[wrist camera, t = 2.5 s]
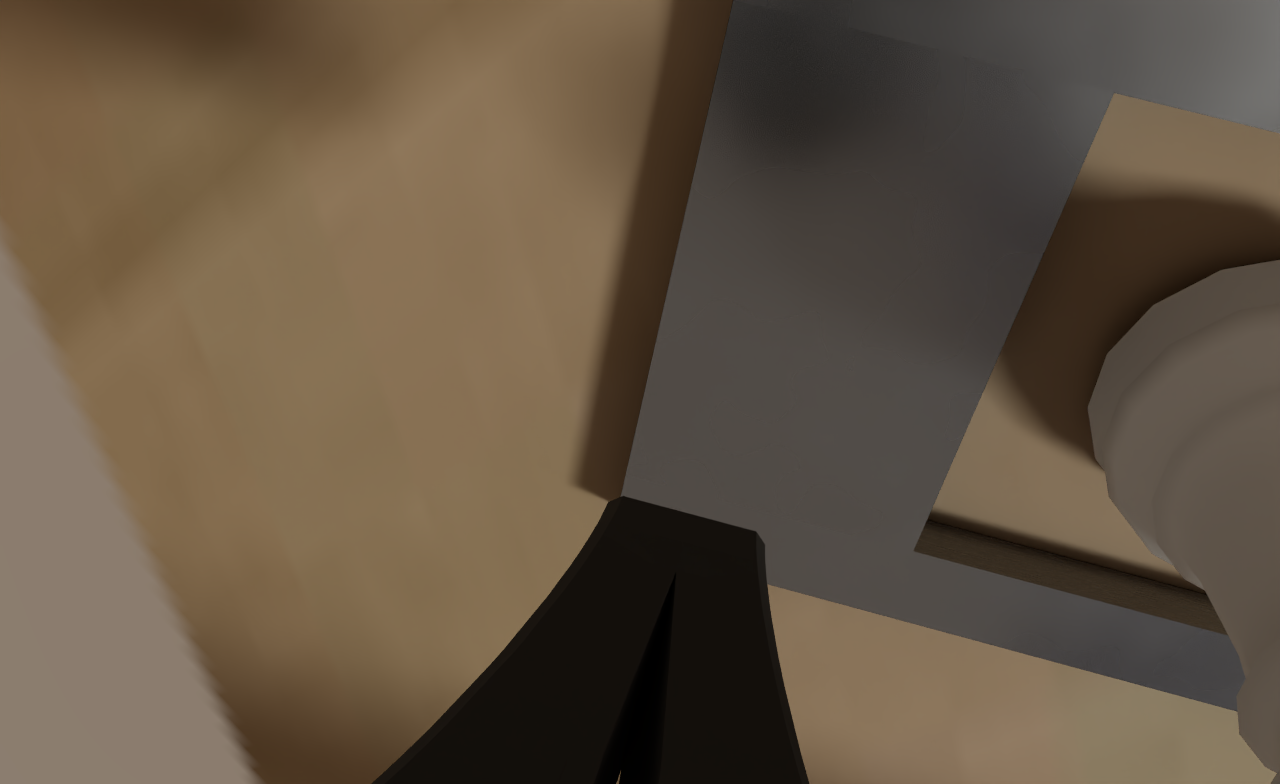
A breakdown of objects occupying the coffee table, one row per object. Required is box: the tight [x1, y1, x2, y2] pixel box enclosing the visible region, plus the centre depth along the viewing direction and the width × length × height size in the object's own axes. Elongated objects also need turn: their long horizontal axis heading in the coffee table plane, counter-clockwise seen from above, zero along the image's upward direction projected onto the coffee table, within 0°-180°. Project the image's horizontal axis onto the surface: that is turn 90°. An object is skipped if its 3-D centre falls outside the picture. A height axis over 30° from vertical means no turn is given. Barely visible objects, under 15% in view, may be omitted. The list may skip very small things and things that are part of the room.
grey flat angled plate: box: [621, 0, 1280, 712], centre depth 15 cm, size 10×16×1 cm, turn 79°
